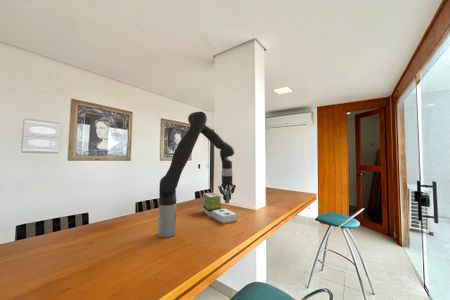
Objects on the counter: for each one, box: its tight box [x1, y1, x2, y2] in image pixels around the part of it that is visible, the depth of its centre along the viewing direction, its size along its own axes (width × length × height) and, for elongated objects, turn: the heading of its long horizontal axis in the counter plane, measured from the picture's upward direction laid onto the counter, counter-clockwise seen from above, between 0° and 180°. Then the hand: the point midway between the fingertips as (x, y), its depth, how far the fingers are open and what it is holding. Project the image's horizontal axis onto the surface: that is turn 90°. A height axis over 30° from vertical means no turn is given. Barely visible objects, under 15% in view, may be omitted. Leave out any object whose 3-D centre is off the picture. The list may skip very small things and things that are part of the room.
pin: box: [224, 190, 230, 204], centre depth 129 cm, size 3×3×9 cm
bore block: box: [211, 208, 238, 225], centre depth 132 cm, size 11×16×5 cm
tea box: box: [202, 192, 222, 217], centre depth 147 cm, size 15×10×15 cm
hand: (227, 199), depth 129 cm, fingers closed on pin, 3 cm apart
